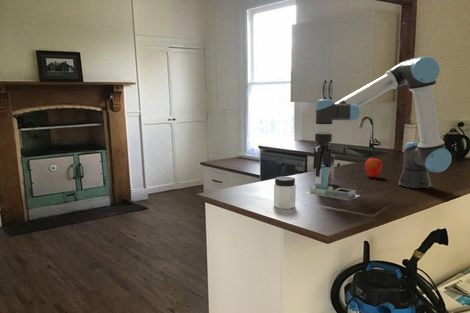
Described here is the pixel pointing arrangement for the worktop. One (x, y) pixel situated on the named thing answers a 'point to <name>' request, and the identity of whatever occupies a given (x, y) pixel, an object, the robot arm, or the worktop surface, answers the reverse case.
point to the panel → (334, 193)
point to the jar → (284, 192)
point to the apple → (373, 167)
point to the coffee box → (331, 170)
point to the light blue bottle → (323, 178)
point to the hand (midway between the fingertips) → (321, 182)
